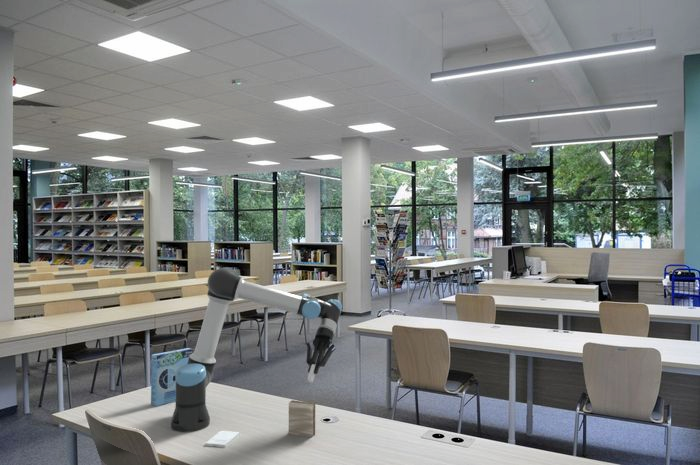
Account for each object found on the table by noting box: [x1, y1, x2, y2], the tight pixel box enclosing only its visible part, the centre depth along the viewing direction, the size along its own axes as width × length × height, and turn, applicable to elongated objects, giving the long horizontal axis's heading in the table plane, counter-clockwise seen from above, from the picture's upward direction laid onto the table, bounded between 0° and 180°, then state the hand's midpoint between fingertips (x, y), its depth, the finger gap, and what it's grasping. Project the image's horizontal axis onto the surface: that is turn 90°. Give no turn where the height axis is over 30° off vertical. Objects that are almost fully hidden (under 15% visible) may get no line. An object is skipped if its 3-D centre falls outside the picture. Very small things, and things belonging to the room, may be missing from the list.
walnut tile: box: [288, 399, 316, 438], centre depth 192 cm, size 3×10×12 cm, turn 70°
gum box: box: [150, 347, 194, 407], centre depth 233 cm, size 20×5×23 cm, turn 141°
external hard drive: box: [203, 430, 240, 449], centre depth 186 cm, size 2×8×12 cm
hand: (309, 380), depth 198 cm, fingers closed
